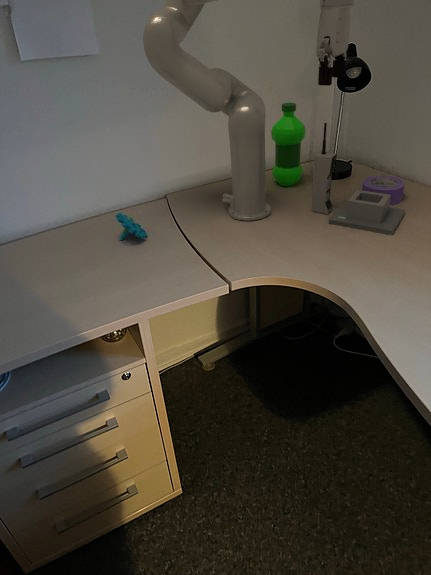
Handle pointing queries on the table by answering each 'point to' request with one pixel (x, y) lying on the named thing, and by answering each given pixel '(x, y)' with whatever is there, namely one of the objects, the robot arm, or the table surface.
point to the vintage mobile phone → (323, 179)
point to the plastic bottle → (288, 146)
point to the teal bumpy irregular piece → (130, 226)
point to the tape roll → (385, 187)
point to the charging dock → (368, 213)
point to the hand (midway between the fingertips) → (331, 81)
